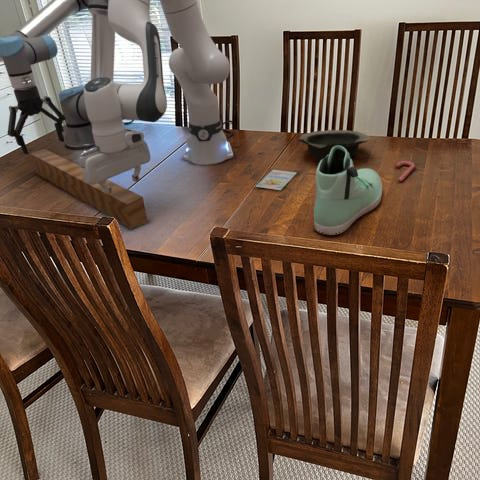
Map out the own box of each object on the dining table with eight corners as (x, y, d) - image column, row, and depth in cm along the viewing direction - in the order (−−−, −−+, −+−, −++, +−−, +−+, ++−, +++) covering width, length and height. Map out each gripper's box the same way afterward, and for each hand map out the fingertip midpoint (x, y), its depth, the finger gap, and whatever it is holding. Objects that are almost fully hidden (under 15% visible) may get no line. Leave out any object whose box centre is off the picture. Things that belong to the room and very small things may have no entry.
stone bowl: (326, 174, 159) (325, 147, 154) (286, 157, 179) (284, 133, 175) (384, 156, 168) (385, 130, 163) (340, 142, 188) (339, 118, 184)
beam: (36, 173, 179) (30, 153, 175) (50, 169, 182) (44, 148, 178) (131, 229, 137) (126, 204, 133) (148, 221, 141) (143, 196, 136)
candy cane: (383, 179, 154) (383, 175, 153) (399, 163, 164) (400, 158, 163) (401, 183, 151) (402, 178, 150) (417, 166, 161) (417, 161, 160)
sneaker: (389, 187, 148) (396, 123, 138) (356, 242, 123) (361, 168, 112) (346, 181, 154) (350, 119, 144) (306, 232, 129) (307, 161, 118)
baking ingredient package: (255, 185, 155) (273, 168, 166) (255, 187, 155) (273, 170, 166) (280, 189, 151) (297, 171, 163) (280, 190, 151) (297, 173, 163)
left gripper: (-9, 98, 150) (14, 161, 162) (64, 79, 164) (80, 138, 175) (-18, 95, 155) (5, 156, 166) (54, 76, 168) (71, 134, 180)
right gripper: (83, 156, 123) (96, 203, 130) (148, 131, 134) (157, 176, 142) (71, 151, 127) (85, 197, 134) (135, 127, 138) (145, 171, 146)
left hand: (44, 147), depth 171 cm, fingers open, 13 cm apart
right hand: (122, 186), depth 138 cm, fingers open, 8 cm apart
